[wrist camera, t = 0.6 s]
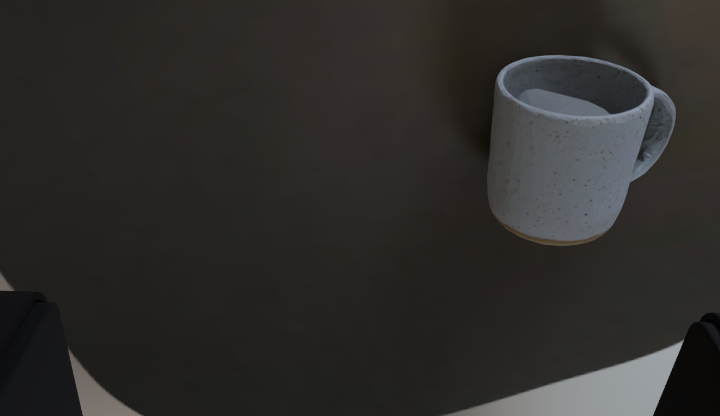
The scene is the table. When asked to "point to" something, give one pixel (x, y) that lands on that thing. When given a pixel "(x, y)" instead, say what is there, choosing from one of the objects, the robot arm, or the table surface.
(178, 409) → the table surface
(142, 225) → the table surface
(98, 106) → the table surface
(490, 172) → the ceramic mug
